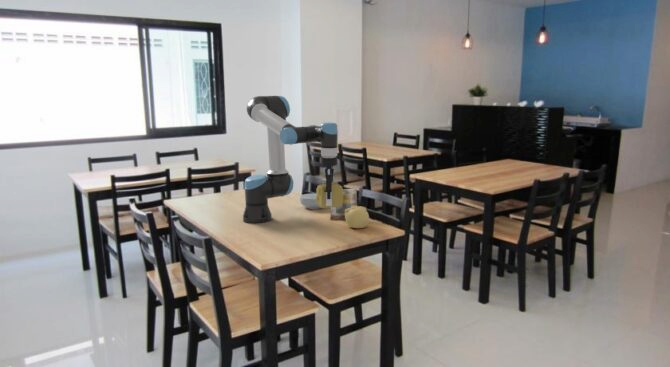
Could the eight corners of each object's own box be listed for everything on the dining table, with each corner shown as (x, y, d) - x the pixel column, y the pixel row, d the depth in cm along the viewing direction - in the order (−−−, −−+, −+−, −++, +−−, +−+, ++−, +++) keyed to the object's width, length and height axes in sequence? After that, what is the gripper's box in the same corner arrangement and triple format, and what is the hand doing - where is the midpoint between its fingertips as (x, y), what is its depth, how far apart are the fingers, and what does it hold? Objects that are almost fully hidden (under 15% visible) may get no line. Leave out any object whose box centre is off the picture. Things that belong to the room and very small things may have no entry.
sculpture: (362, 222, 240) (362, 202, 237) (372, 228, 229) (372, 207, 226) (342, 225, 236) (341, 204, 233) (351, 231, 225) (351, 210, 222)
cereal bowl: (330, 204, 279) (330, 192, 278) (327, 211, 263) (327, 199, 262) (302, 204, 281) (302, 192, 279) (297, 210, 265) (297, 198, 263)
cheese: (315, 203, 222) (315, 182, 220) (337, 201, 225) (337, 181, 223) (321, 208, 212) (321, 187, 210) (343, 207, 215) (343, 186, 213)
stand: (330, 219, 245) (330, 191, 242) (330, 216, 251) (330, 188, 248) (356, 219, 245) (356, 191, 242) (356, 216, 251) (356, 188, 248)
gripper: (336, 160, 202) (336, 209, 206) (338, 152, 225) (338, 196, 229) (319, 160, 202) (319, 208, 206) (322, 152, 225) (322, 196, 230)
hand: (329, 202), depth 218 cm, fingers closed on cheese, 12 cm apart
